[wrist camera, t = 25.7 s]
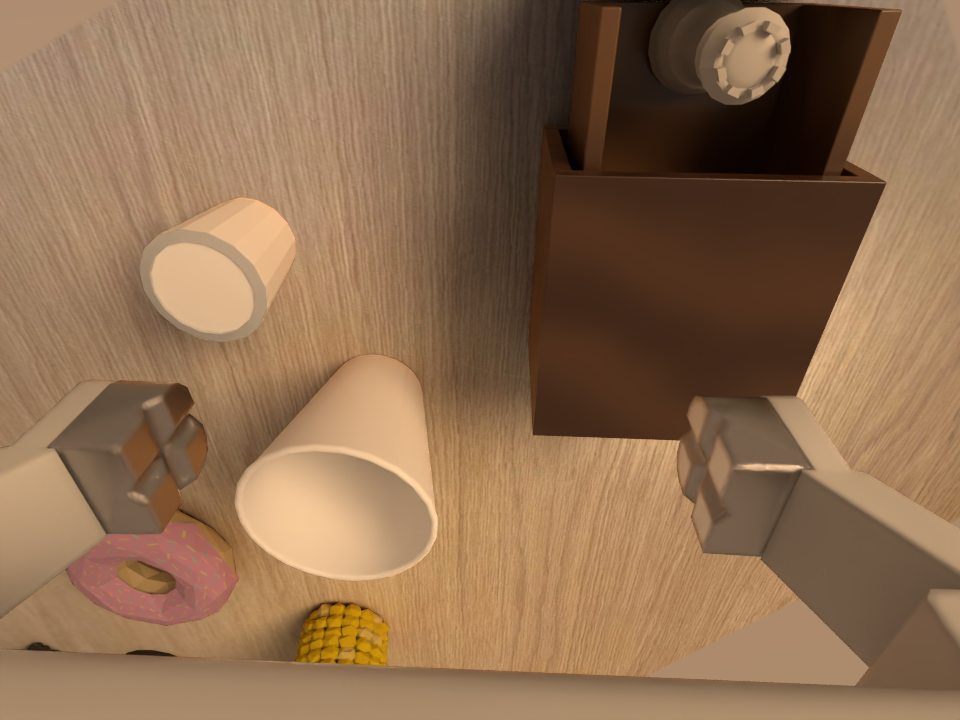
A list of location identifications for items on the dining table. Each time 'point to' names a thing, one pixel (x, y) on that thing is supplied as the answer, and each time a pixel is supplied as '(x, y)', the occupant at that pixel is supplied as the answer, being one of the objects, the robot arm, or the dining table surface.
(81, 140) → the dining table surface
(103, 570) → the donut
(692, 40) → the rook chess piece
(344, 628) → the food
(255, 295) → the shot glass
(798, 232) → the cabinet
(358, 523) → the cup
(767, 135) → the drawer
